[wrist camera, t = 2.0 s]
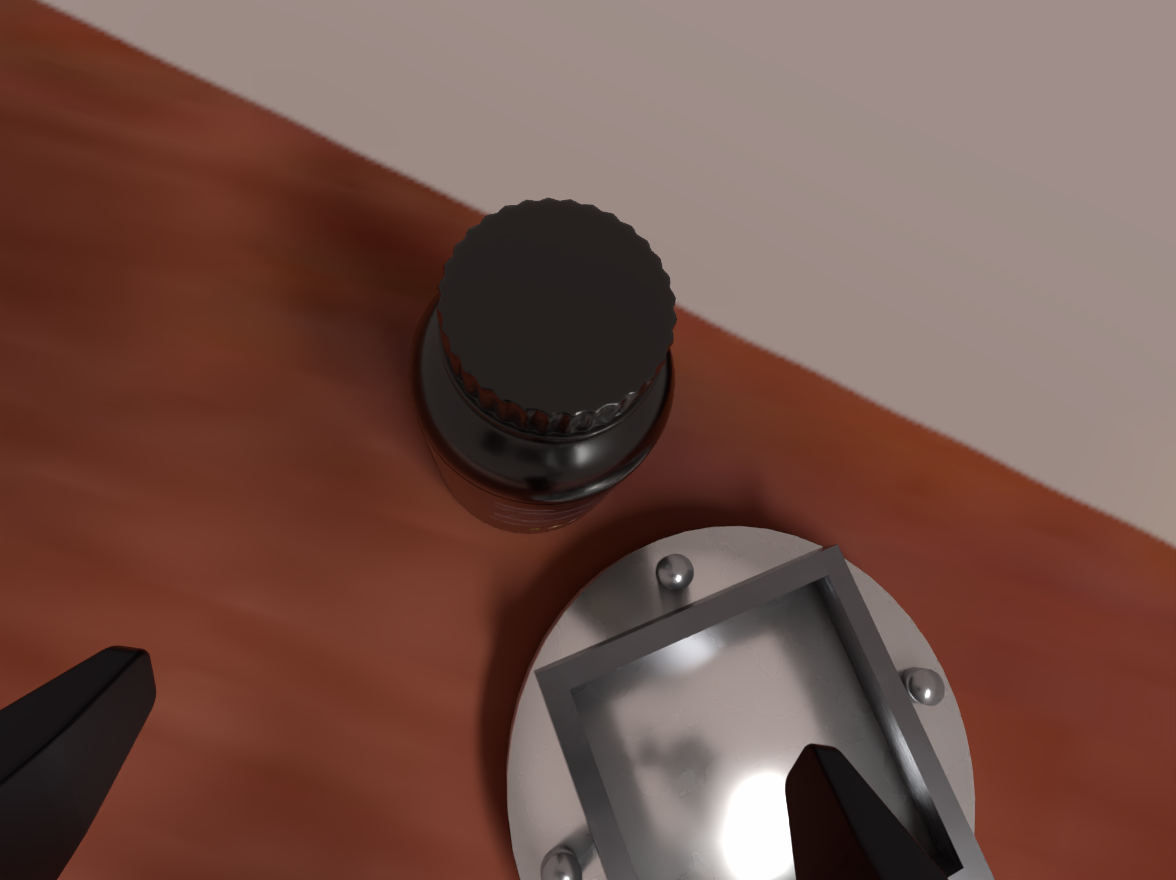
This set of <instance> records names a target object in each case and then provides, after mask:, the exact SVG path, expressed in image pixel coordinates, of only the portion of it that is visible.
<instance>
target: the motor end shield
mask: <svg viewBox="0 0 1176 880" xmlns="http://www.w3.org/2000/svg"><path fill="white" fill-rule="evenodd" d="M810 743H814V744H821V745H828V746H833V747H835V748H837V749H838V750H839V751H841V752H842V753H843V755H844V756H845V757H846V758H847V759H848V760H849V762H850V763H851V764H852V765H853V766H854V768H855V769H856V770H857V771H858V772H859V774H860V775H861V776H862V777H863V778H864V780H865V781H866V782H867V783H868V784H869V785H870V787H871V788H872V789H873V790H874V791H875V793H876V794H877V795H878V796H879V797H880V799H881V800H882V801H883V802H884V803H885V805H886V806H887V807H888V808H889V809H890V810H891V812H892V813H893V814H894V815H895V816H896V818H897V819H898V820H899V821H900V822H901V824H902V825H903V826H904V827H905V828H906V830H907V831H908V832H909V833H910V834H911V836H912V837H913V838H914V839H915V840H916V841H917V843H918V844H919V845H920V846H921V847H922V849H923V850H924V851H925V852H926V853H927V855H928V856H929V857H930V858H931V859H932V861H933V862H934V863H935V864H936V865H937V866H938V868H939V869H940V870H941V871H942V872H943V874H944V875H945V876H946V877H947V878H948V880H995V879H994V877H993V875H992V873H991V871H990V868H989V866H988V864H987V862H986V860H985V858H984V856H983V854H982V851H981V849H980V847H979V845H978V843H977V841H976V839H975V836H974V824H975V793H974V781H973V770H972V762H971V757H970V752H969V747H968V741H967V736H966V732H965V728H964V725H963V722H962V718H961V715H960V712H959V708H958V705H957V702H956V699H955V697H954V695H953V692H952V690H951V687H950V685H949V683H948V680H947V678H946V675H945V673H944V671H943V669H942V667H941V665H940V664H939V662H938V660H937V658H936V656H935V655H934V653H933V651H932V649H931V647H930V645H929V644H928V642H927V641H926V639H925V638H924V637H923V635H922V634H921V632H920V631H919V629H918V628H917V627H916V625H915V624H914V622H913V621H912V619H911V618H910V617H909V616H908V615H907V614H906V612H905V611H904V610H903V609H902V608H901V607H900V606H899V604H898V603H897V602H896V601H895V600H894V599H893V598H892V596H891V595H889V594H888V593H887V592H886V591H885V590H884V589H883V588H882V587H881V586H880V585H878V584H877V583H876V582H875V581H874V580H873V579H872V578H871V577H870V576H868V575H867V574H866V573H864V572H863V571H861V570H860V569H859V568H857V567H856V566H854V565H853V564H851V563H850V562H849V561H847V560H846V559H844V557H843V555H842V553H841V551H840V549H839V546H838V544H837V545H832V546H826V547H822V546H820V545H817V544H815V543H812V542H810V541H807V540H805V539H802V538H799V537H797V536H794V535H790V534H786V533H782V532H778V531H774V530H770V529H763V528H754V527H744V526H726V527H709V528H704V529H698V530H692V531H686V532H683V533H680V534H676V535H673V536H670V537H667V538H664V539H661V540H658V541H655V542H653V543H651V544H648V545H646V546H644V547H642V548H640V549H638V550H636V551H634V552H632V553H630V554H627V555H625V556H624V557H622V558H620V559H619V560H617V561H616V562H614V563H613V564H611V565H610V566H608V567H607V568H605V569H604V570H602V571H601V572H600V573H599V574H597V575H596V576H595V577H594V578H593V579H592V580H591V581H589V582H588V583H587V584H586V585H585V586H584V587H582V588H581V589H580V590H579V591H578V592H577V593H576V595H575V596H574V597H573V598H572V599H571V600H570V601H569V603H568V604H567V605H566V606H565V607H564V608H563V609H562V611H561V612H560V613H559V614H558V616H557V617H556V619H555V620H554V622H553V623H552V625H551V626H550V628H549V629H548V631H547V632H546V634H545V635H544V637H543V638H542V640H541V642H540V644H539V646H538V648H537V650H536V652H535V654H534V656H533V658H532V660H531V662H530V664H529V666H528V669H527V671H526V674H525V677H524V680H523V683H522V685H521V688H520V691H519V694H518V696H517V701H516V705H515V709H514V714H513V718H512V722H511V727H510V734H509V743H508V752H507V761H506V780H507V808H508V817H509V825H510V833H511V840H512V848H513V853H514V857H515V861H516V865H517V869H518V873H519V877H520V880H796V876H795V868H794V861H793V853H792V845H791V837H790V829H789V821H788V813H787V806H786V798H785V782H786V778H787V775H788V773H789V771H790V770H791V768H792V766H793V765H794V763H795V761H796V760H797V758H798V757H799V755H800V753H801V752H802V750H803V748H804V747H805V746H806V745H808V744H810Z"/></svg>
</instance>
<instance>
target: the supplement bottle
mask: <svg viewBox="0 0 1176 880" xmlns="http://www.w3.org/2000/svg"><path fill="white" fill-rule="evenodd" d="M437 290H438V293H437V294H436V296H435V297H434V298H433V300H432V301H431V302H430V304H429V305H428V307H427V308H426V310H425V312H424V313H423V315H422V317H421V319H420V322H419V324H418V326H417V329H416V332H415V335H414V338H413V341H412V346H411V350H410V357H409V385H410V392H411V397H412V402H413V406H414V410H415V413H416V416H417V419H418V422H419V424H420V427H421V429H422V431H423V433H424V436H425V438H426V440H427V443H428V445H429V447H430V450H431V452H432V454H433V456H434V459H435V461H436V463H437V466H438V468H439V470H440V472H441V475H442V477H443V479H444V481H445V483H446V485H447V486H448V488H449V490H450V491H451V493H452V494H453V496H454V497H455V498H456V500H457V501H458V502H459V503H460V504H461V505H462V506H463V507H464V508H465V509H466V510H467V511H468V512H469V513H471V514H472V515H473V516H475V517H476V518H478V519H479V520H481V521H483V522H484V523H486V524H489V525H491V526H493V527H495V528H498V529H501V530H505V531H509V532H514V533H525V534H533V533H543V532H549V531H552V530H556V529H559V528H562V527H565V526H567V525H569V524H571V523H573V522H575V521H576V520H578V519H580V518H581V517H583V516H584V515H585V514H587V513H588V512H589V511H591V510H592V509H593V508H594V507H595V506H596V505H597V504H598V503H600V502H601V501H602V500H603V499H604V498H605V497H606V496H607V495H608V494H609V493H610V492H611V491H612V490H614V489H615V488H616V487H617V486H618V485H619V484H620V483H621V482H622V481H623V480H624V479H625V478H627V477H628V476H629V475H630V474H631V473H632V472H633V471H634V470H635V469H636V468H637V467H638V466H639V465H640V464H641V463H642V462H643V460H644V459H645V458H646V457H647V456H648V454H649V453H650V451H651V450H652V449H653V447H654V446H655V444H656V443H657V441H658V439H659V438H660V436H661V434H662V432H663V430H664V428H665V425H666V423H667V421H668V418H669V414H670V411H671V407H672V402H673V397H674V387H675V370H674V361H673V356H672V351H671V346H672V344H673V340H674V339H673V332H672V330H673V328H674V326H675V324H676V322H677V317H676V313H675V312H674V305H675V300H676V298H675V296H674V294H673V292H672V291H671V289H670V277H669V276H668V274H667V273H666V272H665V271H664V270H663V269H662V263H661V259H660V258H659V257H658V256H657V255H656V254H655V253H654V252H653V251H651V248H650V245H649V243H648V241H647V240H645V239H644V238H642V237H640V236H639V235H637V234H636V232H635V230H634V229H633V227H632V226H630V225H628V224H626V223H623V222H620V221H619V219H618V218H617V217H616V216H615V215H614V214H612V213H608V212H602V211H600V210H599V209H598V208H597V207H595V206H594V205H587V204H579V203H577V202H576V201H573V200H571V199H570V200H562V201H558V200H555V199H551V198H546V199H543V200H540V201H533V200H525V201H523V202H521V203H520V204H518V205H509V206H505V207H503V208H502V209H501V210H500V211H499V212H498V213H495V214H490V215H486V216H485V217H484V218H483V219H482V221H481V223H480V224H478V225H476V226H474V227H472V228H470V229H468V231H467V233H466V236H465V239H463V240H462V241H460V242H458V243H457V244H456V245H455V246H454V250H453V256H452V257H451V258H450V259H449V260H448V261H447V262H446V263H445V264H444V278H443V279H442V280H441V281H440V283H439V285H438V288H437Z"/></svg>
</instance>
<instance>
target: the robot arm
mask: <svg viewBox="0 0 1176 880" xmlns="http://www.w3.org/2000/svg"><path fill="white" fill-rule="evenodd" d="M155 698H156V686H155V680H154V675H153V670H152V664H151V659H150V655H149V653H148V652H147V651H146V650H144V649H140V648H133V647H126V646H111V647H108V648H105V649H104V650H102V651H100V652H98V653H96V654H95V655H93V656H91V657H90V658H88V659H86V660H85V661H83V662H81V663H79V664H78V665H76V666H74V667H73V668H71V669H69V670H68V671H66V672H64V673H62V674H61V675H59V676H57V677H56V678H54V679H52V680H51V681H49V682H47V683H45V684H44V685H42V686H40V687H39V688H37V689H35V690H34V691H32V692H30V693H28V694H27V695H25V696H23V697H22V698H20V699H18V700H17V701H15V702H13V703H11V704H10V705H8V706H6V707H5V708H3V709H1V710H0V880H57V879H58V877H59V876H60V874H61V872H62V871H63V869H64V868H65V866H66V865H67V863H68V862H69V860H70V859H71V857H72V855H73V854H74V852H75V851H76V849H77V847H78V846H79V844H80V843H81V841H82V839H83V838H84V836H85V834H86V833H87V831H88V829H89V827H90V826H91V824H92V822H93V820H94V818H95V817H96V815H97V813H98V811H99V809H100V807H101V805H102V803H103V802H104V800H105V798H106V796H107V794H108V792H109V790H110V788H111V786H112V784H113V782H114V781H115V779H116V777H117V775H118V773H119V771H120V769H121V767H122V765H123V763H124V761H125V760H126V758H127V756H128V754H129V752H130V750H131V748H132V746H133V744H134V742H135V740H136V739H137V737H138V735H139V733H140V731H141V729H142V727H143V725H144V723H145V721H146V719H147V718H148V716H149V714H150V712H151V710H152V707H153V705H154V702H155ZM785 798H786V806H787V813H788V821H789V829H790V837H791V845H792V853H793V861H794V868H795V876H796V880H948V878H947V877H946V876H945V875H944V874H943V872H942V871H941V870H940V869H939V868H938V866H937V865H936V864H935V863H934V862H933V861H932V859H931V858H930V857H929V856H928V855H927V853H926V852H925V851H924V850H923V849H922V847H921V846H920V845H919V844H918V843H917V841H916V840H915V839H914V838H913V837H912V836H911V834H910V833H909V832H908V831H907V830H906V828H905V827H904V826H903V825H902V824H901V822H900V821H899V820H898V819H897V818H896V816H895V815H894V814H893V813H892V812H891V810H890V809H889V808H888V807H887V806H886V805H885V803H884V802H883V801H882V800H881V799H880V797H879V796H878V795H877V794H876V793H875V791H874V790H873V789H872V788H871V787H870V785H869V784H868V783H867V782H866V781H865V780H864V778H863V777H862V776H861V775H860V774H859V772H858V771H857V770H856V769H855V768H854V766H853V765H852V764H851V763H850V762H849V760H848V759H847V758H846V757H845V756H844V755H843V753H842V752H841V751H839V750H838V749H837V748H835V747H833V746H828V745H821V744H814V743H810V744H808V745H806V746H805V747H804V748H803V750H802V752H801V753H800V755H799V757H798V758H797V760H796V761H795V763H794V765H793V766H792V768H791V770H790V771H789V773H788V775H787V778H786V782H785Z"/></svg>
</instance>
